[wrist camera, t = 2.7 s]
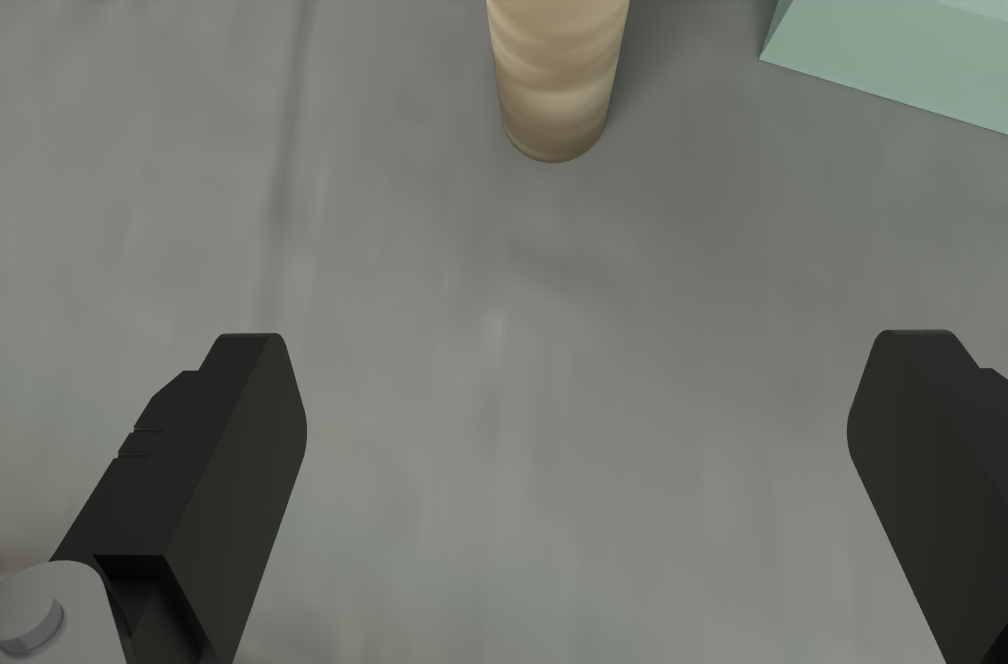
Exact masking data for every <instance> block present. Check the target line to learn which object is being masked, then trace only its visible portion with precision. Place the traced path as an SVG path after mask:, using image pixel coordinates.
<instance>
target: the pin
mask: <svg viewBox="0 0 1008 664" xmlns="http://www.w3.org/2000/svg"><path fill="white" fill-rule="evenodd" d="M629 3H630V0H486V5H487V12H488V20H489V27H490V35H491V42H492V50H493V57H494V64H495V72H496V79H497V87H498V94H499V102H500V109H501V117H502V123H503V127H504V130H505V133H506V135H507V137H508V138H509V140H510V142H511V143H512V144H513V145H514V146H515V147H516V148H517V149H518V150H519V151H520V152H521V153H523V154H524V155H526V156H528V157H530V158H532V159H535V160H538V161H542V162H548V163H558V162H565V161H569V160H572V159H574V158H577V157H579V156H580V155H582V154H584V153H585V152H586V151H588V150H589V149H590V148H591V147H592V146H593V145H594V144H595V143H596V141H597V140H598V138H599V137H600V135H601V133H602V131H603V129H604V125H605V122H606V117H607V112H608V107H609V102H610V97H611V92H612V87H613V82H614V77H615V72H616V67H617V62H618V58H619V53H620V48H621V43H622V38H623V33H624V28H625V23H626V18H627V13H628V8H629Z"/></svg>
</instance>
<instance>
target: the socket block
mask: <svg viewBox="0 0 1008 664" xmlns="http://www.w3.org/2000/svg"><path fill="white" fill-rule="evenodd" d="M759 60H762V61H766V62H769V63H772V64H775V65H779V66H782V67H785V68H789V69H792V70H795V71H799V72H802V73H805V74H809V75H812V76H815V77H818V78H822V79H825V80H828V81H832V82H835V83H838V84H842V85H845V86H848V87H852V88H855V89H858V90H862V91H865V92H868V93H871V94H875V95H878V96H881V97H885V98H888V99H891V100H895V101H898V102H901V103H905V104H908V105H911V106H915V107H918V108H921V109H924V110H928V111H931V112H934V113H938V114H941V115H944V116H948V117H951V118H954V119H958V120H961V121H964V122H967V123H971V124H974V125H977V126H981V127H984V128H987V129H991V130H994V131H997V132H1001V133H1004V134H1007V135H1008V0H779V1H778V4H777V7H776V10H775V13H774V16H773V19H772V22H771V25H770V28H769V31H768V34H767V37H766V40H765V43H764V46H763V49H762V51H761V54H760V57H759Z"/></svg>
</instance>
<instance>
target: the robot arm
mask: <svg viewBox="0 0 1008 664" xmlns="http://www.w3.org/2000/svg"><path fill="white" fill-rule="evenodd" d="M847 440H848V447H849V452H850V455H851V458H852V461H853V463H854V465H855V467H856V469H857V472H858V474H859V476H860V478H861V480H862V482H863V485H864V487H865V489H866V491H867V493H868V495H869V498H870V500H871V502H872V504H873V506H874V508H875V510H876V513H877V515H878V517H879V519H880V521H881V523H882V526H883V528H884V530H885V532H886V534H887V536H888V539H889V541H890V543H891V545H892V547H893V549H894V552H895V554H896V556H897V558H898V560H899V562H900V564H901V567H902V569H903V571H904V573H905V575H906V577H907V580H908V582H909V584H910V586H911V588H912V590H913V593H914V595H915V597H916V599H917V601H918V603H919V605H920V608H921V610H922V612H923V614H924V616H925V618H926V621H927V623H928V625H929V627H930V629H931V631H932V634H933V636H934V638H935V640H936V642H937V644H938V646H939V649H940V651H941V653H942V655H943V657H944V659H945V662H946V664H1008V379H1006V378H1005V377H1003V376H1002V375H1000V374H999V373H998V372H996V371H995V370H993V369H992V368H979V366H978V365H977V364H976V362H975V361H974V360H973V358H972V357H971V356H970V354H969V353H968V352H967V350H966V349H965V348H964V346H963V345H962V344H961V342H960V341H959V340H958V338H957V337H956V336H955V335H954V334H953V333H951V332H950V331H948V330H885V331H882V332H881V333H880V334H879V335H878V336H877V338H876V339H875V341H874V344H873V347H872V349H871V352H870V355H869V358H868V361H867V364H866V367H865V369H864V372H863V375H862V378H861V381H860V384H859V387H858V390H857V392H856V395H855V398H854V401H853V404H852V407H851V410H850V413H849V416H848V423H847ZM306 441H307V422H306V415H305V411H304V407H303V404H302V400H301V397H300V393H299V389H298V386H297V382H296V379H295V375H294V372H293V368H292V365H291V361H290V358H289V354H288V351H287V347H286V344H285V342H284V340H283V338H282V337H281V335H279V334H277V333H235V334H222V335H220V336H219V337H218V338H217V339H216V341H215V342H214V344H213V346H212V348H211V349H210V351H209V353H208V355H207V356H206V358H205V360H204V362H203V363H202V365H201V367H200V369H199V370H198V371H183V372H181V373H180V374H179V375H178V376H177V377H175V378H174V379H173V380H172V381H171V382H169V383H168V384H167V385H166V386H165V387H163V388H162V389H161V390H160V391H159V392H157V393H156V394H155V395H154V396H153V397H152V398H151V400H150V401H149V403H148V405H147V406H146V408H145V409H144V411H143V413H142V414H141V416H140V417H139V419H138V421H137V422H136V424H135V425H134V432H133V433H129V435H128V437H127V438H126V440H125V441H124V443H123V444H122V446H121V448H120V449H119V451H118V458H114V459H113V460H112V462H111V464H110V465H109V467H108V468H107V470H106V472H105V473H104V475H103V476H102V478H101V480H100V481H99V483H98V484H97V486H96V488H95V489H94V491H93V492H92V494H91V496H90V497H89V499H88V500H87V502H86V504H85V505H84V507H83V508H82V510H81V512H80V513H79V515H78V516H77V518H76V520H75V521H74V523H73V524H72V526H71V528H70V529H69V531H68V532H67V534H66V536H65V537H64V539H63V540H62V542H61V544H60V545H59V547H58V548H57V550H56V552H55V553H54V555H53V556H52V557H51V559H50V560H49V562H46V563H42V564H38V565H35V566H32V567H29V568H27V569H24V570H22V571H19V572H17V573H15V574H14V575H12V576H10V577H8V578H6V579H4V580H3V581H1V582H0V664H232V663H233V660H234V657H235V654H236V651H237V648H238V645H239V642H240V639H241V637H242V634H243V631H244V628H245V625H246V622H247V619H248V616H249V613H250V611H251V608H252V605H253V602H254V599H255V596H256V593H257V590H258V587H259V585H260V582H261V579H262V576H263V573H264V570H265V567H266V564H267V562H268V559H269V556H270V553H271V550H272V547H273V544H274V541H275V538H276V536H277V533H278V530H279V527H280V524H281V521H282V518H283V515H284V512H285V510H286V507H287V504H288V501H289V498H290V495H291V492H292V489H293V486H294V484H295V481H296V478H297V475H298V472H299V469H300V466H301V463H302V460H303V457H304V454H305V449H306Z"/></svg>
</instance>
